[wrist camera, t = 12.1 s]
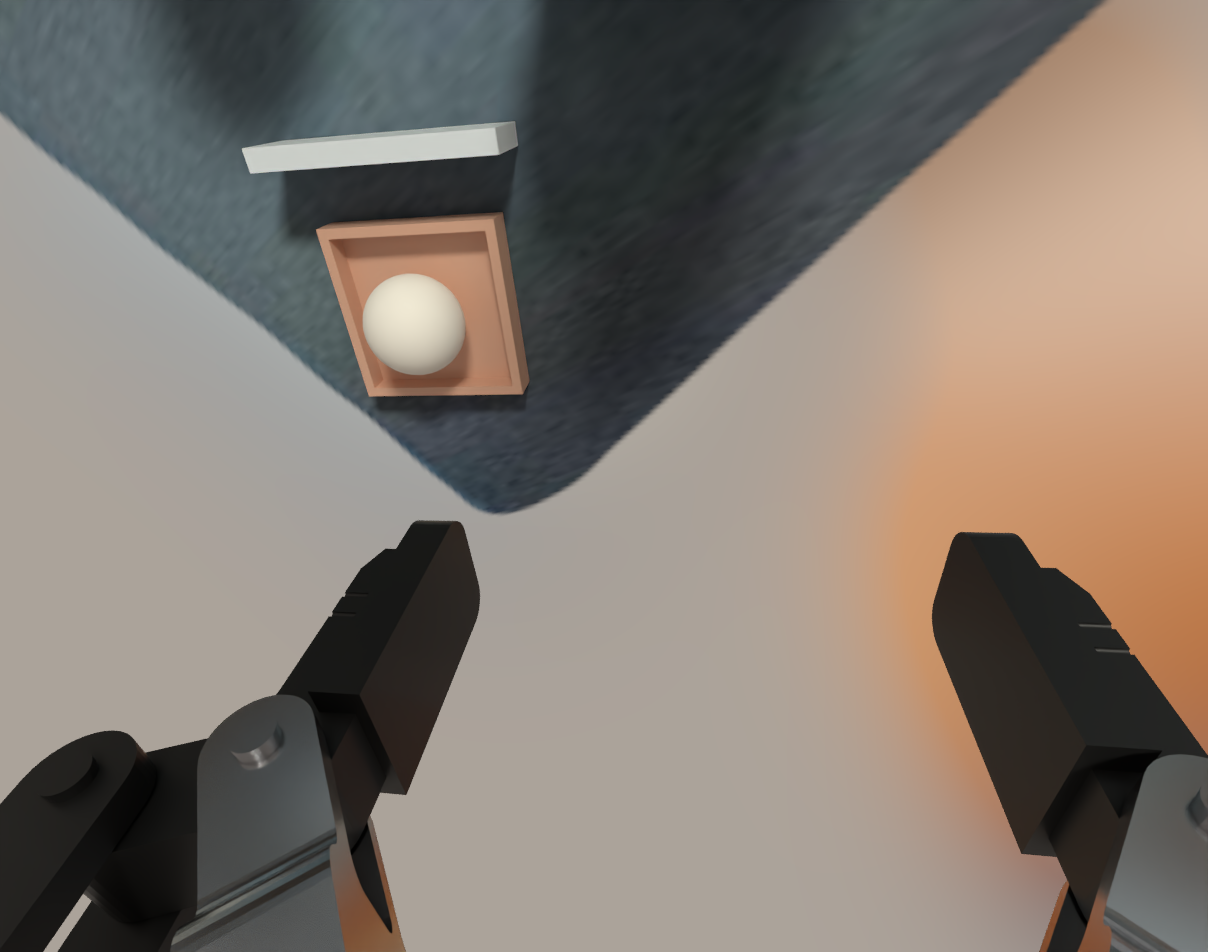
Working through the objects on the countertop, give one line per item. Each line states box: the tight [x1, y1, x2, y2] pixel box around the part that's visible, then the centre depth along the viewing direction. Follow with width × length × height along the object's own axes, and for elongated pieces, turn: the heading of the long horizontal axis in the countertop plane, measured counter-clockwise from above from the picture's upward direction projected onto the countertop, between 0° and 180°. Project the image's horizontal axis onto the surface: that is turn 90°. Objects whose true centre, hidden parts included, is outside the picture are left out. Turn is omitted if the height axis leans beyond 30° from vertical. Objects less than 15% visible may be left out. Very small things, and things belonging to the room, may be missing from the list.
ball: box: [363, 274, 466, 375], centre depth 37 cm, size 6×6×6 cm
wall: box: [242, 121, 518, 173], centre depth 34 cm, size 1×14×4 cm, turn 95°
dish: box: [316, 212, 530, 396], centre depth 40 cm, size 11×11×2 cm
